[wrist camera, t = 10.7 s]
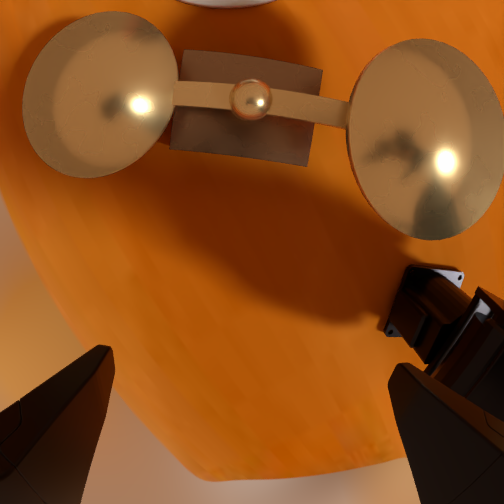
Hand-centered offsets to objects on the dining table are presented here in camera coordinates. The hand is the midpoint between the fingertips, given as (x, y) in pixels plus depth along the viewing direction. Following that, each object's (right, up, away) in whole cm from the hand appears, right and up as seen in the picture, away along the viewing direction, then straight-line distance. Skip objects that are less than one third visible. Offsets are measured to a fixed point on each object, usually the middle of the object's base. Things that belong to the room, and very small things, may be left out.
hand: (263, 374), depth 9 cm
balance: (-1, +12, +9) cm, 15 cm away
